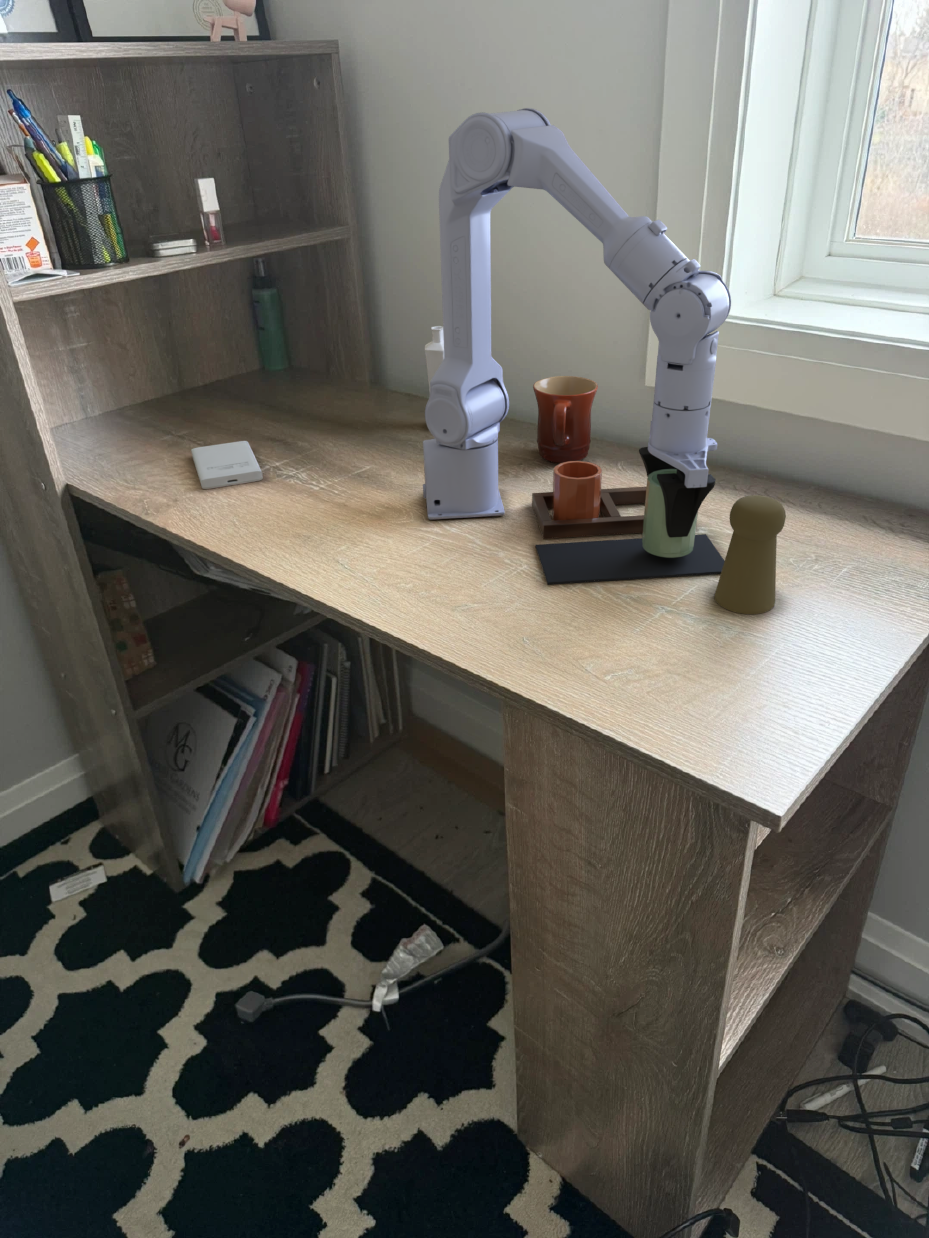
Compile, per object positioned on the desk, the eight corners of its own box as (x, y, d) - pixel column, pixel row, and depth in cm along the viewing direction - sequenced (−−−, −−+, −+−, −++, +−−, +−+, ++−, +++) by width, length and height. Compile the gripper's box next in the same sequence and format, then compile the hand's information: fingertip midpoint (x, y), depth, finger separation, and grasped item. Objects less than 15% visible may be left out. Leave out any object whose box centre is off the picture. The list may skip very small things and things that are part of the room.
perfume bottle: (438, 419, 142) (434, 322, 134) (461, 424, 139) (458, 326, 132) (420, 428, 138) (415, 329, 131) (443, 433, 136) (439, 333, 128)
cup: (649, 559, 97) (655, 491, 93) (636, 536, 102) (642, 470, 98) (700, 556, 97) (708, 487, 93) (685, 533, 102) (692, 467, 98)
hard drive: (249, 450, 132) (263, 480, 122) (192, 459, 130) (202, 490, 120) (247, 440, 132) (261, 469, 122) (190, 448, 129) (199, 478, 119)
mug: (536, 444, 131) (537, 374, 126) (596, 447, 130) (600, 376, 124) (524, 476, 121) (525, 402, 116) (589, 479, 120) (593, 404, 114)
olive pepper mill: (739, 619, 89) (755, 518, 83) (702, 592, 93) (714, 494, 88) (787, 605, 91) (806, 506, 85) (749, 579, 95) (764, 483, 90)
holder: (543, 539, 105) (543, 525, 104) (531, 506, 113) (532, 492, 112) (691, 530, 106) (692, 516, 105) (669, 498, 114) (670, 484, 113)
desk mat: (547, 584, 96) (547, 582, 95) (535, 546, 103) (535, 544, 103) (731, 573, 97) (731, 570, 97) (705, 536, 104) (706, 534, 104)
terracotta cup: (556, 531, 107) (558, 480, 103) (549, 511, 111) (550, 462, 108) (603, 528, 107) (606, 477, 103) (593, 508, 112) (596, 459, 108)
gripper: (745, 423, 85) (727, 551, 92) (699, 379, 97) (686, 494, 104) (672, 427, 85) (659, 555, 92) (635, 382, 97) (626, 498, 104)
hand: (669, 523), depth 98 cm, fingers closed on cup, 5 cm apart
